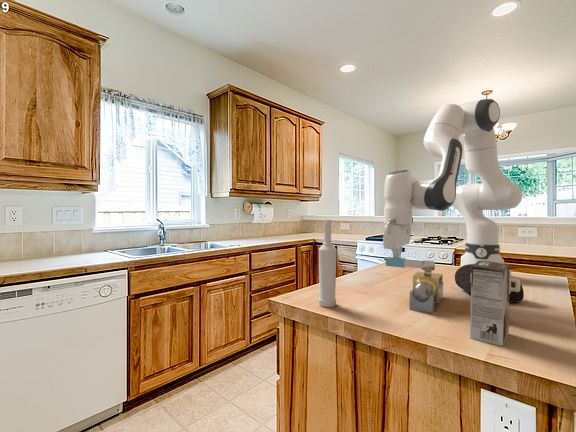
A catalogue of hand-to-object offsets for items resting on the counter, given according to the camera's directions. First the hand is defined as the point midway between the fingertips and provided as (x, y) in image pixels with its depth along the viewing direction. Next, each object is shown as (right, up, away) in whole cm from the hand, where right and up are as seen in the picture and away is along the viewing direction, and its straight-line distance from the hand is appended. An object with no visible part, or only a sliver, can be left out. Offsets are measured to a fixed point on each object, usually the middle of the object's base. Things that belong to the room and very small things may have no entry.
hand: (397, 259), depth 102 cm
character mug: (+17, -12, -23) cm, 31 cm away
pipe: (+28, -12, -3) cm, 31 cm away
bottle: (-25, -12, -12) cm, 30 cm away
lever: (+1, -1, -7) cm, 8 cm away
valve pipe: (+6, -12, -10) cm, 16 cm away
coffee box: (+9, -12, -34) cm, 37 cm away
